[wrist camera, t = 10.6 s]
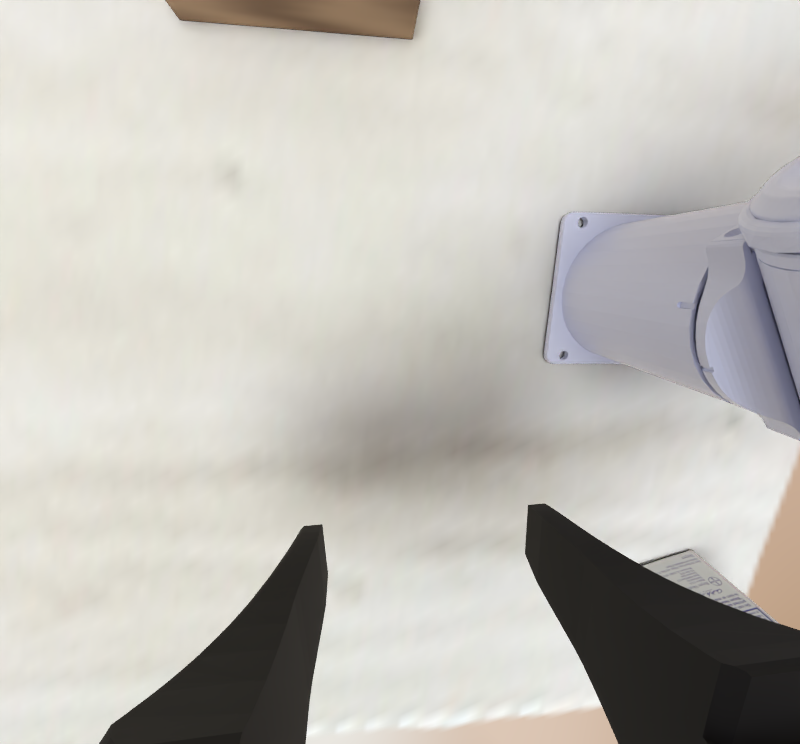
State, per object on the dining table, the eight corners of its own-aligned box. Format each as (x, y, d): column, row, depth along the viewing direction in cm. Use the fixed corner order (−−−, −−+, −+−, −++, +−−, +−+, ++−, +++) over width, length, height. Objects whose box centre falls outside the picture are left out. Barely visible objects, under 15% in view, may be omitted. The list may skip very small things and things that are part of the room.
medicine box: (632, 564, 26) (756, 700, 18) (691, 546, 26) (842, 674, 18) (640, 643, 28) (755, 798, 20) (695, 627, 29) (832, 774, 20)
